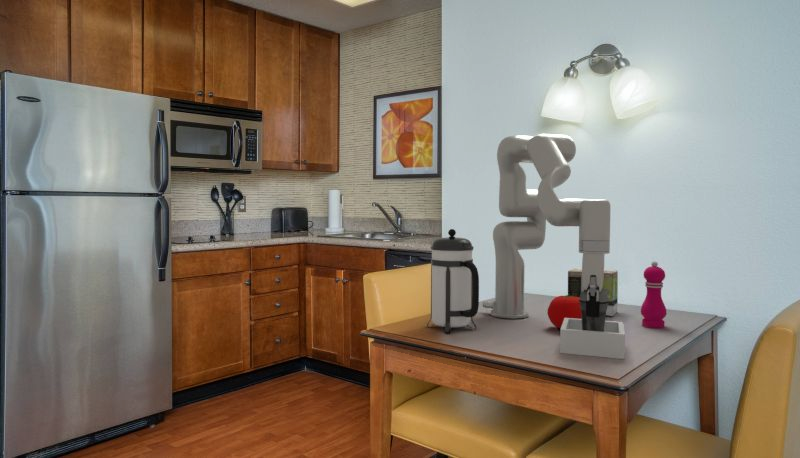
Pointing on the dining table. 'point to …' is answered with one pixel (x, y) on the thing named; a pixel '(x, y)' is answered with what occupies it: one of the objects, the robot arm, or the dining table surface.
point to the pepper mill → (653, 298)
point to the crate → (592, 339)
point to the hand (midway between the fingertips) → (592, 313)
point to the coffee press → (453, 283)
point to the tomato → (564, 309)
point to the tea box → (608, 285)
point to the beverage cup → (594, 322)
